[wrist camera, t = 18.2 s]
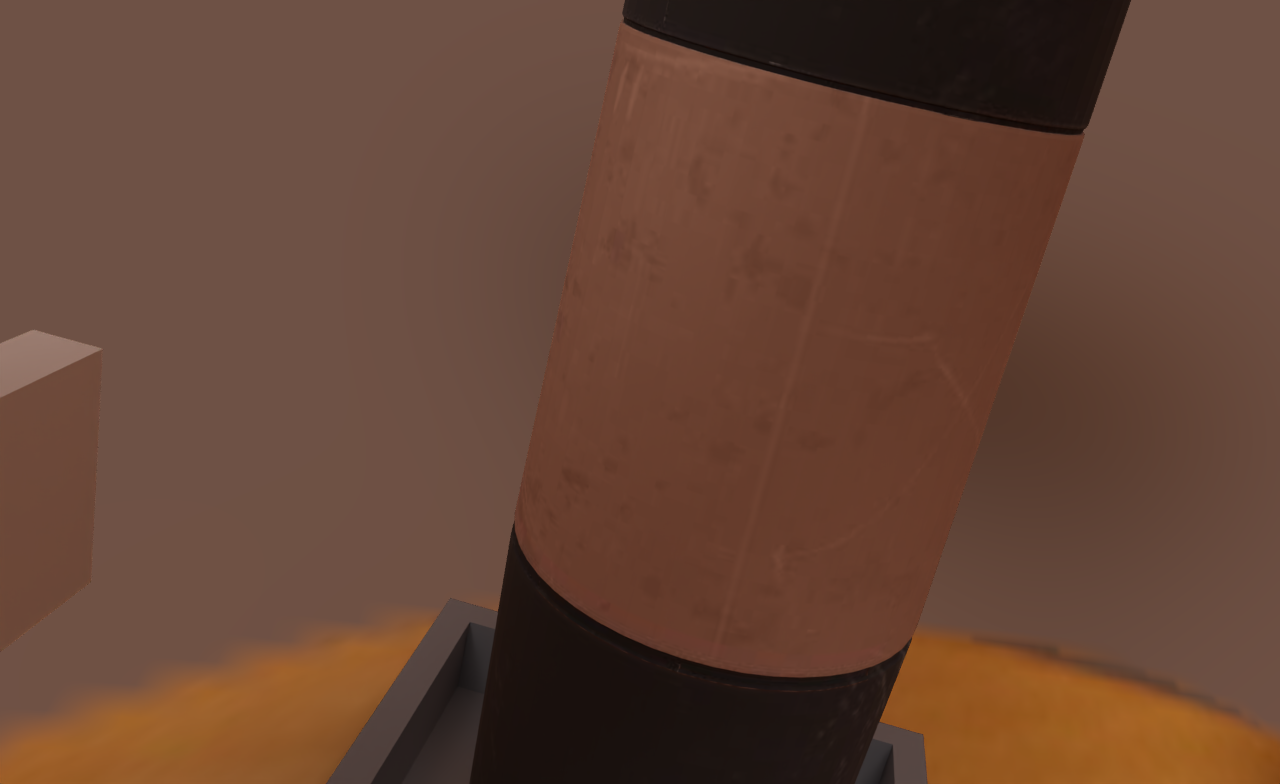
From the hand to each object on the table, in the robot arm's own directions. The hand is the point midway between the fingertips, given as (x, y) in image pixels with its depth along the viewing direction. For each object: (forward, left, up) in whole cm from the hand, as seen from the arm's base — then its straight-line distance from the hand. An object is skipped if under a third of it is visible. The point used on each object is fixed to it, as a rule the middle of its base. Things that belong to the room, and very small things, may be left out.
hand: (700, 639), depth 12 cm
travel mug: (0, -10, -13) cm, 16 cm away
